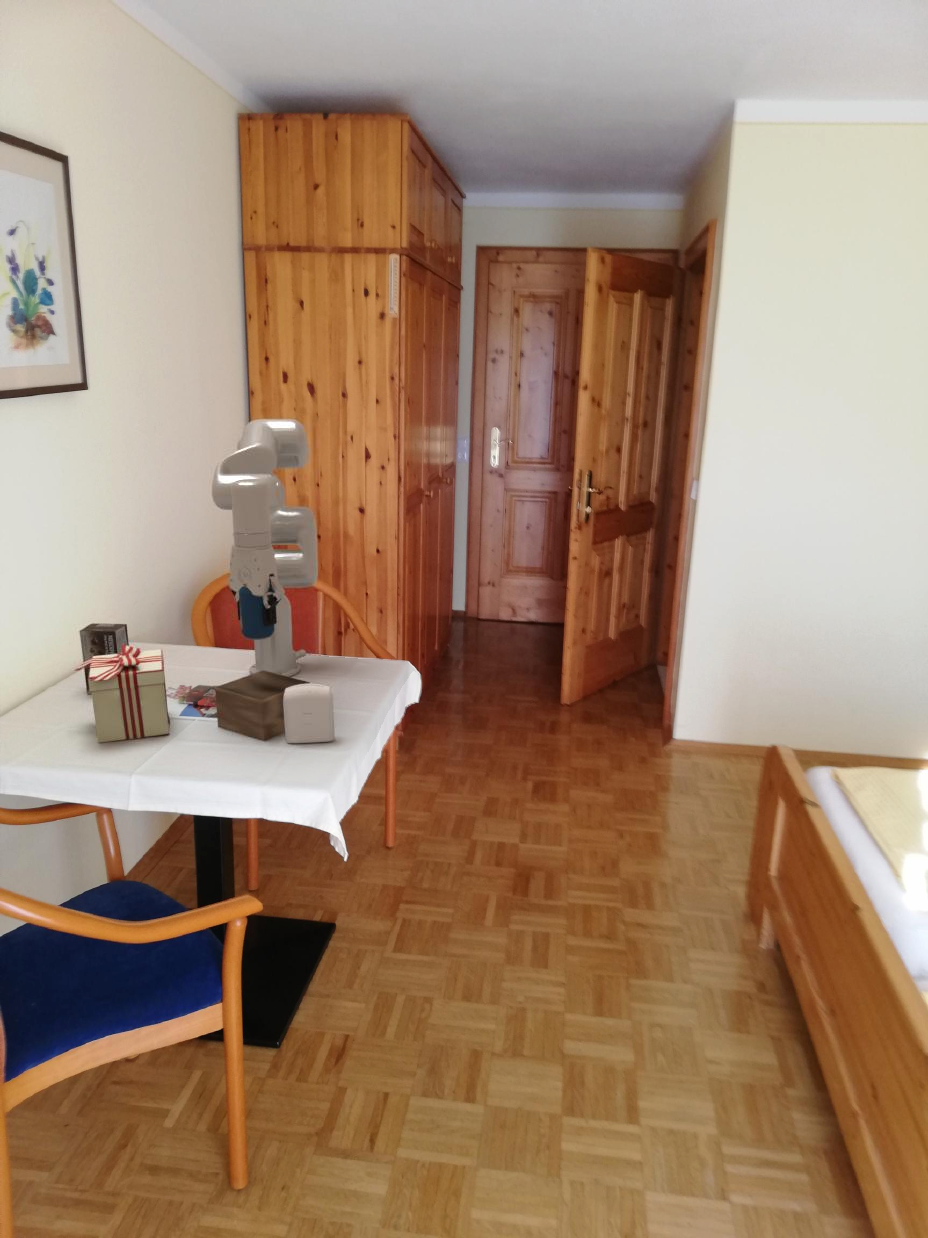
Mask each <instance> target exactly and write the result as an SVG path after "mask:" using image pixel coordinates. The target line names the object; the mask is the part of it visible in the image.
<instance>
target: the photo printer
mask: <svg viewBox="0 0 928 1238" xmlns="http://www.w3.org/2000/svg"><path fill="white" fill-rule="evenodd" d="M283 707H284V723H285V732H284V734H285V742H286V743H287V744H306V743H308V744H309V743H325V742H326V743H328V742H332V741H334V740H335V738H336V736H335V735H336V734H335V717H334V715H335V714H334V697H333V693H332V691H331V687H330V686H328V685H325V684H319V683H310V684H299V685H295V686H291V687H288V688H286V689H285V693H284V697H283Z"/></svg>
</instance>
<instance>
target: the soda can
mask: <svg viewBox="0 0 928 1238" xmlns="http://www.w3.org/2000/svg"><path fill="white" fill-rule="evenodd" d="M243 585H244V586H243V587H241V588H240V590H239V604H240V620H239V621H240V632H241V634H242V635H243V638H245V639H246V640H251V641H254V640H263V639H267V638H270V637H271V636H272V634H273V632H274V625H270V626H267V627H266V626H264V621H263V608H265V605H264V603H263V600H262V596H260V597H258V596H254V595H253V594H252V592H251V591H250V589H249V588H248V587H246V586H247V585H246V584H243ZM268 592H270V589H268ZM267 597H268V600H270V595H268V596H267Z"/></svg>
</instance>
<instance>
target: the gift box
mask: <svg viewBox="0 0 928 1238" xmlns="http://www.w3.org/2000/svg"><path fill="white" fill-rule="evenodd" d="M164 664H165V661H164V653H163V650H162V648H161V649H149V650H141V648H138V647H134V646H130V645H129V646H127V645H123V646H122V653H118V654H110V655H100V656H92V659H89V660H87V661H86V662H84V663H83V662H82V664H80V666H78V667H77V668H76V669H74V670H73V671H75V672H77V671H80V670H82V669H84V667H86V666H88V665H90V670H89V677H88V682H89V691H90V692H92V695H91V699H92V707H93V714H94V721H95V722H94V723H95V728H96V730H95V731H96V737H97V744H103V743H110V742H119V741H124V740H125V741H127V740H134V739H135V740H136V739H142V738H148V737H149V738H150V737H156V736H157V737H158V736H164V735H166V736H167V735H170V728H169V726H170V725H171V720H170V716H169V710H168V709H169V708H168V697H167V688H166V674H165V665H164Z"/></svg>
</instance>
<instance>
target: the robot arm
mask: <svg viewBox="0 0 928 1238" xmlns="http://www.w3.org/2000/svg"><path fill="white" fill-rule="evenodd" d="M236 445H237V446H236V449H237V450H236V451H235V452H232V453H231V454H228V456H226V457H224V458H223V459H222V460H220V461H219V462H218V464H217V465H216V467H215V469H214V474H213V478H212V484H211V497H212V500H213V503H214V505H215V506H216V507H217V508H219V509H221V510H225V511H227V510H228V511H232V526H233V530H232V531H233V533H232V536H233V545H231V551H230V561H229V578H228V579H227V580H226V583H227V585H228V587H229V588H230V591H231V593H232V595H233V596H234V601H235V602H236V605H237V619H238V621H241V620H240V604H239V590H240V588H241V587H243V586H244V585H243V584H246V585H247V586H246V587H248V588H249V589H250V591H251V592H252V594H253V595H254V596H258V597H260V596H262V600H263V603H264V605H265V608H263V621H264V626H266V627H267V626H270V625H274V632H273V634H272V636H271V637H270V638H267V639H263V640H253V641H254V643H253V644H254V658H255V659H254V661H255V663H254V664H252V665H251V666H250V667H249V675H251V674H254V673H257V672H259V671H262V670H264V671H268V672H272V673H276V674H280V675H284V676H288V677H293V676H295V675H296V674H298V673H299V672H300V671H301V667H300V666H301V665H300V664H299V663H298V662H297V660H299V659H301V658H305V657H306V654H307V652H306V650H305V649H300V650H297V651H295V650H294V649H293V625H292V606H291V602H290V599H289V598H288V597H287V596H286V595H285V593H286V591H285V589H287V588H289V589H290V588H291V589H292V588H310V587H313V586H314V585H315V584H316V583H317V581H318V576H319V557H318V556H319V555H318V529H317V520H316V516H315V514H314V511H313V510H312V509H311V508H309V507H307V506H287V504H286V503H287V502H286V488H285V485H284V484H283V483H282V481H281V479H279V477H278V476H277V475H276V474H275V473H273V472H274V470H276V469H277V470H279V469H280V470H281V469H283V470H284V469H293V470H294V469H295V470H296V469H302V468H304V467H306V466H307V465H308V463H309V459H310V445H309V440H308V435H307V432H306V429H305V427H304V425H303V424H302V423H301V422H300V421H299V420H296V419H295V418H294V419H293V418H258V419H254V420H251V421H250V422H248V423H247V424H246V425H245V427H244V428H243V431H242V436H241V438H239V440H238V441H237V444H236ZM279 545H281V546H284V545H285V546H286V545H292V546H293V545H296V546H298V548H297V549H296V548H293V549H291V548H290V549H289V548H288V549H275V548H274V547H273V546H279ZM284 588H285V589H284ZM268 589H270V592H268ZM268 595H270V600H268V597H267V596H268Z"/></svg>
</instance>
